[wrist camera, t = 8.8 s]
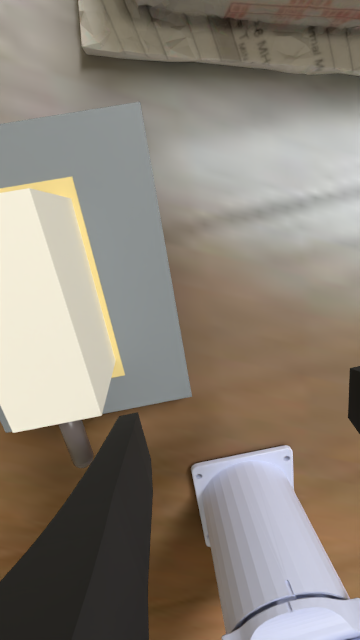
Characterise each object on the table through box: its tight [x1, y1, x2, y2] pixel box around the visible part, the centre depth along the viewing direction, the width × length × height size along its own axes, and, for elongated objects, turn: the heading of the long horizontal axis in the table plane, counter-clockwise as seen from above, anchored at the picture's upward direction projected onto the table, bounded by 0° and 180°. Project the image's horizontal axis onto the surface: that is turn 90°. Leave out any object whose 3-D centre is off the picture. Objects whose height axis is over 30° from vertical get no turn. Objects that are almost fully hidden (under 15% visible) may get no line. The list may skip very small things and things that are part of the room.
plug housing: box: [0, 188, 116, 468], centre depth 13 cm, size 12×4×5 cm, turn 9°
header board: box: [0, 102, 192, 433], centre depth 15 cm, size 16×12×4 cm
